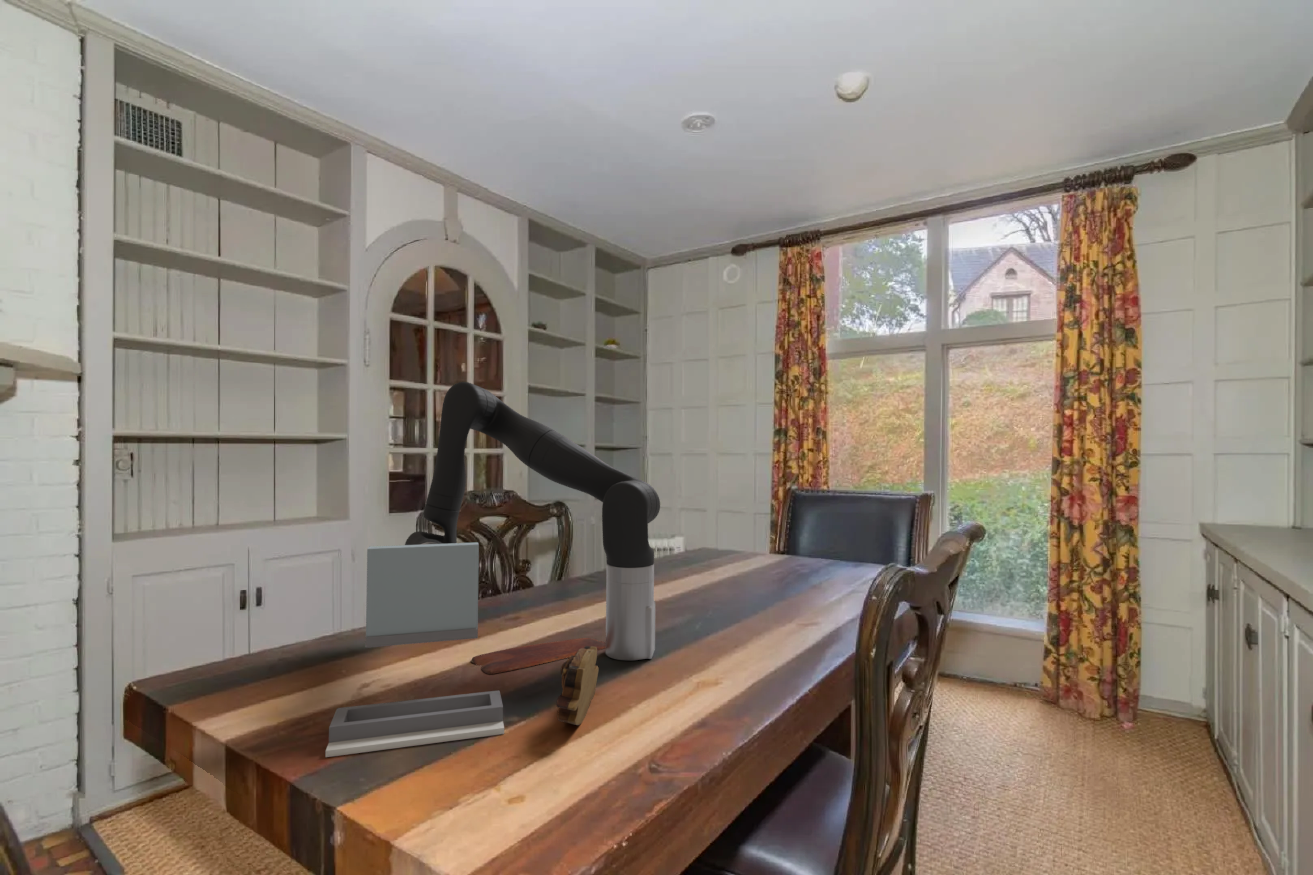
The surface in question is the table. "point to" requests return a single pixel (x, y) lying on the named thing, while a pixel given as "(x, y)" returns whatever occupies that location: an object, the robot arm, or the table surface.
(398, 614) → the grey panel
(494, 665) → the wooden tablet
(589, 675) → the wooden carving
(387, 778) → the table surface
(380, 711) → the track
